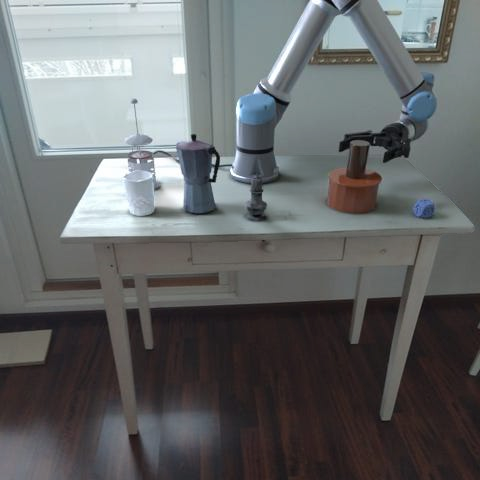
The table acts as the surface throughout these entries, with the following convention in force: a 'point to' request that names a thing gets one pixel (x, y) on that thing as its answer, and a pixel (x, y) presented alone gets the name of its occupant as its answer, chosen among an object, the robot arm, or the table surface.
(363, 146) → the lid
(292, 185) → the table surface
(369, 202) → the pot
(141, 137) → the french press
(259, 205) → the salt shaker
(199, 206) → the moka pot
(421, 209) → the decorative dice
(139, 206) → the white cup
